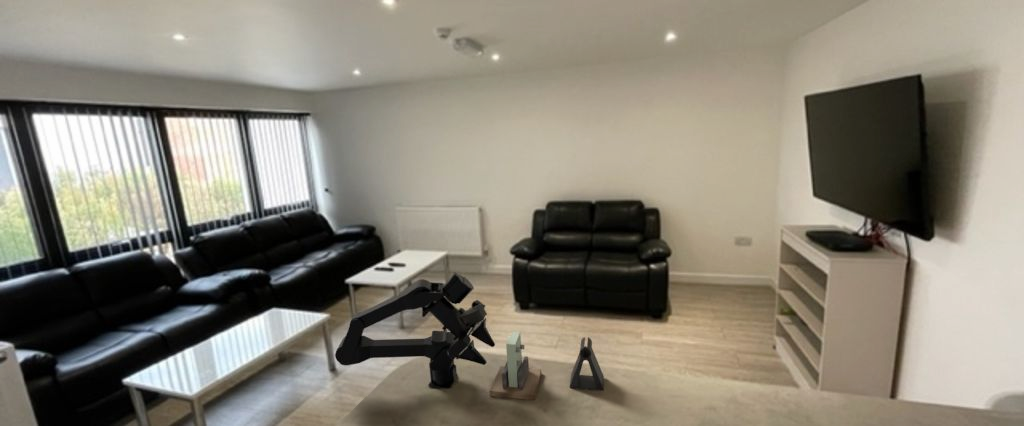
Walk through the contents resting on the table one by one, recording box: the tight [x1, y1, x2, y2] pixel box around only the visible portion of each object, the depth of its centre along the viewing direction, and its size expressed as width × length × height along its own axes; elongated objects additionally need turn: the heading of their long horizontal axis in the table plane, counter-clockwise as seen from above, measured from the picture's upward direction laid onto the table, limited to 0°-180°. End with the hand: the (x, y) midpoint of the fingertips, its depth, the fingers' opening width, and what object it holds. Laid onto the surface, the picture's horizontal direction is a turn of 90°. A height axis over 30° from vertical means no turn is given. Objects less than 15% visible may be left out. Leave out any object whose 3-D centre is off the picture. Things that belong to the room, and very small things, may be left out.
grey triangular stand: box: [569, 337, 605, 391], centre depth 115 cm, size 9×6×12 cm, turn 77°
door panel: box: [505, 331, 525, 387], centre depth 116 cm, size 3×7×12 cm, turn 168°
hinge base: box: [488, 356, 542, 401], centre depth 117 cm, size 12×12×6 cm
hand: (490, 354), depth 116 cm, fingers open, 9 cm apart
